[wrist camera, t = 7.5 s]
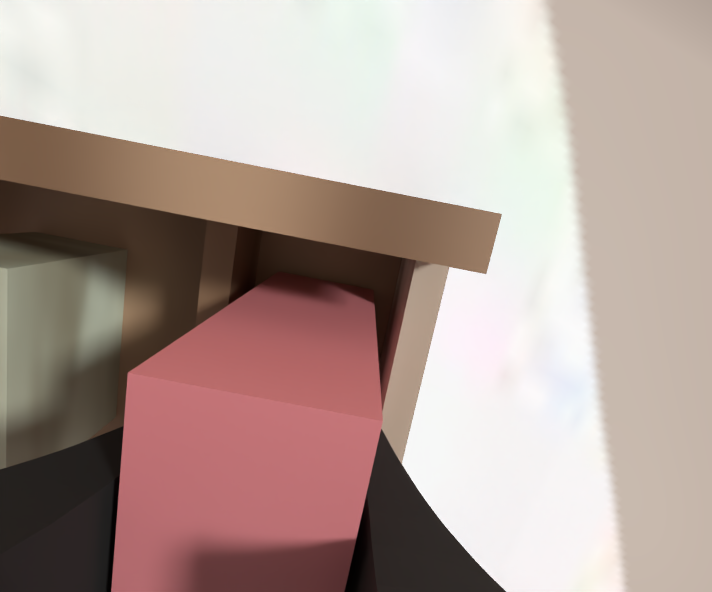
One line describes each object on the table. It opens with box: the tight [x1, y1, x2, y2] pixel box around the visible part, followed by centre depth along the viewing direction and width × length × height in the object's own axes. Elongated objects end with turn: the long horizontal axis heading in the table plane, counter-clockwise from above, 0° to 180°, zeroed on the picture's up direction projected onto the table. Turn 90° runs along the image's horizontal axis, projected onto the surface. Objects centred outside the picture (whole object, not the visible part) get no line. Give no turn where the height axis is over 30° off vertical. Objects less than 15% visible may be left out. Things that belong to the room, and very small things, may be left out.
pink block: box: [111, 272, 383, 592], centre depth 9 cm, size 3×7×8 cm, turn 169°
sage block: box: [0, 232, 128, 469], centre depth 11 cm, size 3×6×4 cm, turn 169°
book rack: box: [0, 116, 502, 464], centre depth 11 cm, size 16×12×7 cm
